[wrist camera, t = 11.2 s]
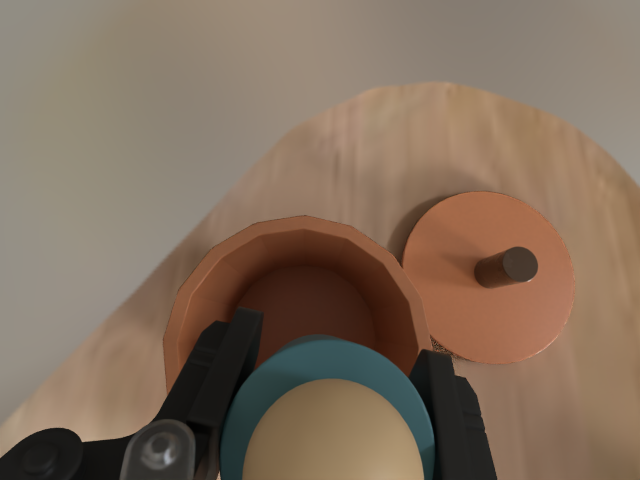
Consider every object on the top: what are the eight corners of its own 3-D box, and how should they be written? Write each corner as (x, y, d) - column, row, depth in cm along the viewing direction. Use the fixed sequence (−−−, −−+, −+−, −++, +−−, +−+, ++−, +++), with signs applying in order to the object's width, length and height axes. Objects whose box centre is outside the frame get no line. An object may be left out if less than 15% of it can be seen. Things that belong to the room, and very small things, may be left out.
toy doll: (387, 348, 16) (518, 381, 6) (365, 474, 15) (479, 755, 5) (274, 322, 16) (225, 314, 6) (244, 445, 15) (128, 670, 5)
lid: (572, 215, 33) (626, 192, 27) (558, 381, 30) (615, 393, 24) (415, 179, 33) (436, 149, 28) (384, 340, 30) (402, 343, 25)
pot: (396, 277, 31) (449, 248, 20) (365, 443, 28) (405, 524, 17) (245, 242, 31) (208, 192, 20) (200, 403, 29) (126, 456, 17)
